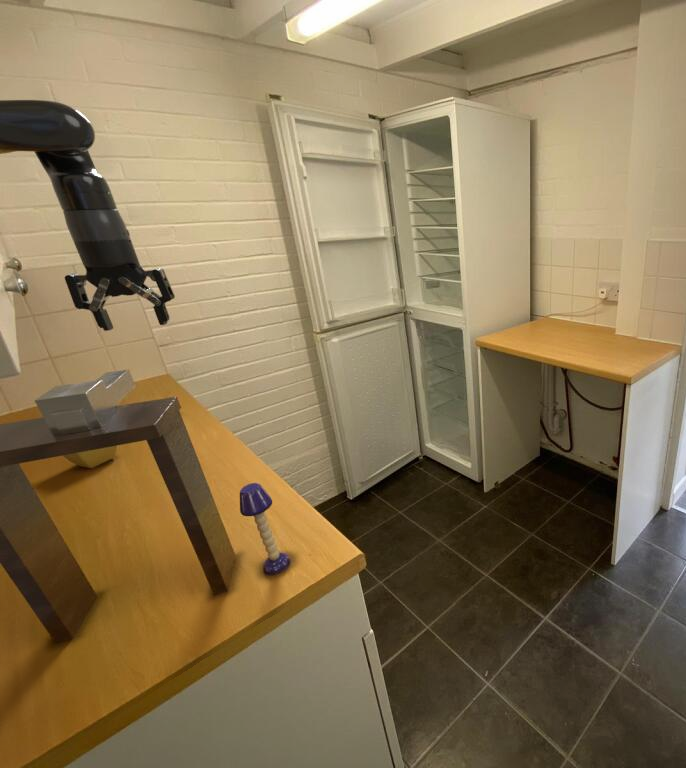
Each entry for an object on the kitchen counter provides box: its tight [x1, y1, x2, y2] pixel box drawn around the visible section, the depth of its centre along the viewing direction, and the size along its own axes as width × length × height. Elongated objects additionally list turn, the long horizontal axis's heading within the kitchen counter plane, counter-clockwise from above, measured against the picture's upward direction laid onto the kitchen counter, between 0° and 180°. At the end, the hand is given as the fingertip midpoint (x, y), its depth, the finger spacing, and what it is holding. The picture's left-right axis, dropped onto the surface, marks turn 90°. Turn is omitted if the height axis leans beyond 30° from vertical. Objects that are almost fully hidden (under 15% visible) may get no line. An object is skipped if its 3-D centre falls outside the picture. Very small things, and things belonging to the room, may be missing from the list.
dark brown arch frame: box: [0, 396, 237, 644], centre depth 62 cm, size 22×10×32 cm, turn 113°
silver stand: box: [34, 369, 137, 435], centre depth 60 cm, size 5×16×5 cm, turn 23°
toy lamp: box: [239, 482, 291, 576], centre depth 71 cm, size 5×5×17 cm
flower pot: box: [62, 445, 118, 469], centre depth 105 cm, size 9×9×9 cm
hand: (137, 326), depth 80 cm, fingers open, 8 cm apart
